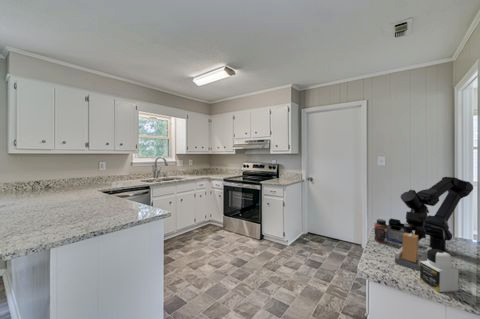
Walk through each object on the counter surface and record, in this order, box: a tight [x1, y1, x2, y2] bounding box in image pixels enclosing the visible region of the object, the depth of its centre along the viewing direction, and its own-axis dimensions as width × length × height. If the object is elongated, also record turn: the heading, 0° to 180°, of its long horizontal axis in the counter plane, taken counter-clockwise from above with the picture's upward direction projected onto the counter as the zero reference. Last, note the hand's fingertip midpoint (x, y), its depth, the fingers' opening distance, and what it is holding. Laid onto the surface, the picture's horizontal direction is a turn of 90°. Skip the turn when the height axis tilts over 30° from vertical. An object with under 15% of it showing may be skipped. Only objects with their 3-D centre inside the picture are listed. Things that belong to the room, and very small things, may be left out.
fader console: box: [394, 246, 432, 271], centre depth 94 cm, size 19×9×4 cm, turn 130°
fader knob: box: [401, 233, 419, 263], centre depth 90 cm, size 4×4×10 cm
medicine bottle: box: [419, 249, 459, 293], centre depth 75 cm, size 7×7×12 cm
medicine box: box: [387, 222, 405, 244], centre depth 115 cm, size 8×4×9 cm, turn 55°
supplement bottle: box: [374, 218, 389, 244], centre depth 114 cm, size 6×6×11 cm
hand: (411, 245), depth 91 cm, fingers closed
